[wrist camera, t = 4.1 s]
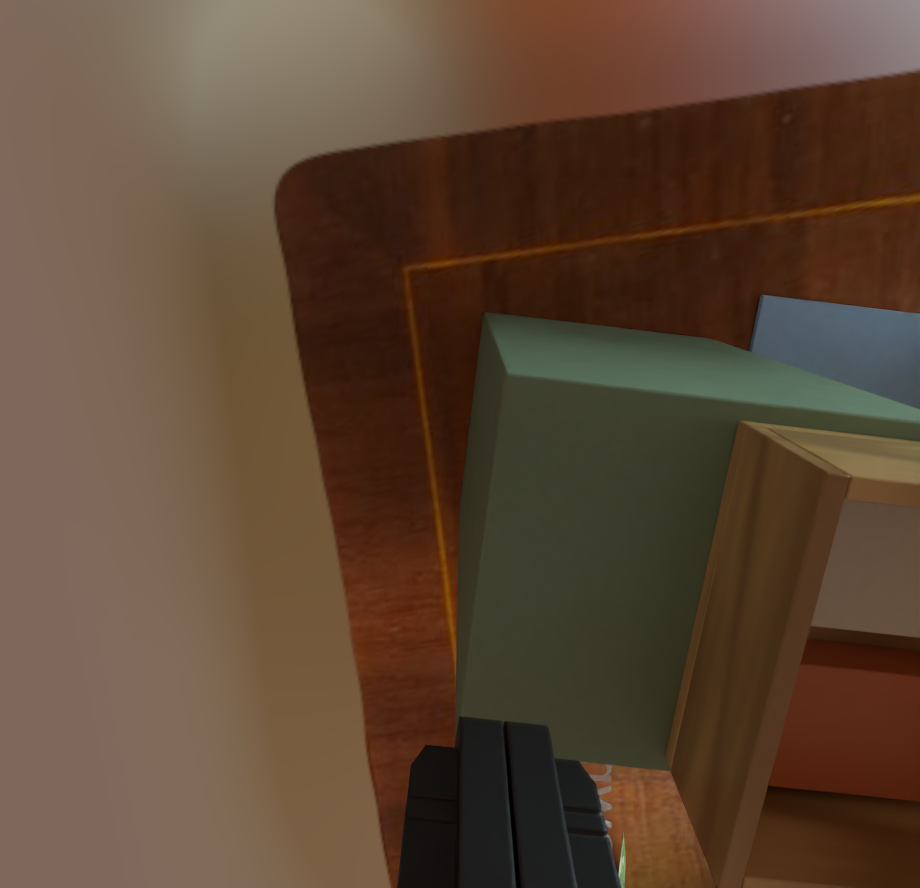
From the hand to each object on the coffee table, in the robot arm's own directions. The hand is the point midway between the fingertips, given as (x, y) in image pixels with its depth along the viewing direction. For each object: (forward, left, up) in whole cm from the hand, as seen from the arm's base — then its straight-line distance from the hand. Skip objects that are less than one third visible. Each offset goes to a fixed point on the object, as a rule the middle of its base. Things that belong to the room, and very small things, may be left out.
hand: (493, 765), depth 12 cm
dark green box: (+6, 0, -28) cm, 28 cm away
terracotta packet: (+10, -2, -7) cm, 12 cm away
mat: (+19, +3, -28) cm, 33 cm away
